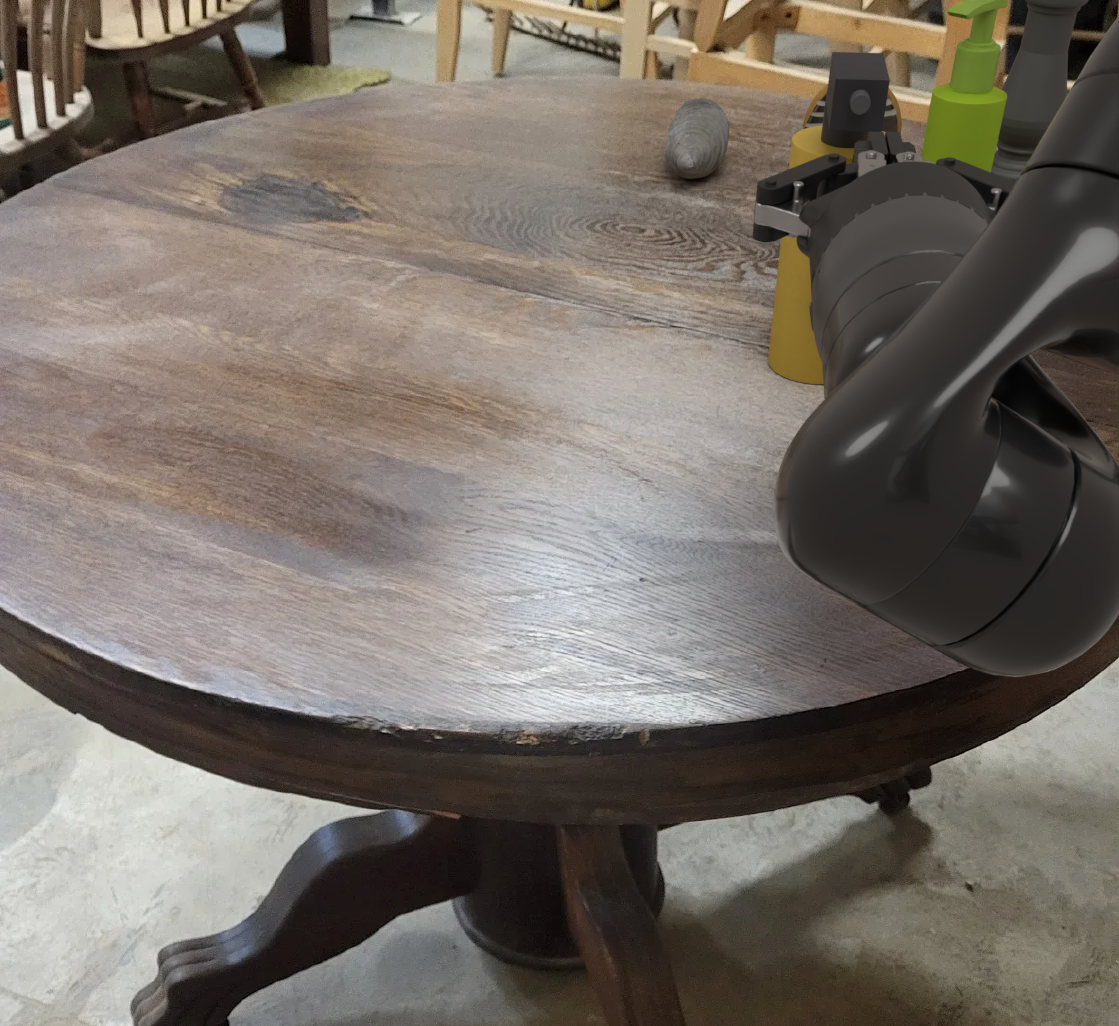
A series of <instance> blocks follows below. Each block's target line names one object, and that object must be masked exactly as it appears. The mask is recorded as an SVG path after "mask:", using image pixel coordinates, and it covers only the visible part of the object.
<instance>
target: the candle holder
mask: <svg viewBox="0 0 1119 1026" xmlns="http://www.w3.org/2000/svg"><path fill="white" fill-rule="evenodd" d="M1024 2H1025V3H1026V8H1027V10H1028V11H1027V14H1026V18H1025V24H1024V28H1023V33H1022V37H1021V40H1020V41H1021V42H1020V46H1019V49H1018V50H1017V53H1016V56H1015V58H1014V60H1013V63H1012V65H1011V67H1010V69H1009V72H1008V74H1007V76H1006V79H1005V81H1004V84H1003V85H1002V88H1001V90H1003V91H1004V92H1006V94H1007V100H1006V104H1005V109H1004V114H1003V118H1002V123H1001V128H1000V132H999V137H998V142H997V146H996V148H997V150H996V151H995V156H994V160H993V165H992V169H991V173H993V174H996V175H998V176H1001V177H1004V178H1006V179H1009V180H1011V181H1014V182H1016V181H1017V180H1018V179H1019V178H1020V175H1021V172H1022V171H1023V169H1024V167H1025V166H1026V164H1027V162H1028V160H1029V159H1030V157H1031V155H1032V154H1033V152H1034V150H1035V149H1036V147H1037V145H1038V144H1039V142H1040V140H1041V138H1042V137H1043V135H1044V133H1045V132H1046V130H1047V128H1048V127H1049V125H1050V123H1051V122H1052V120H1053V118H1054V117H1055V115H1056V113H1057V111H1058V110H1059V108H1060V106H1061V105H1062V103H1063V101H1064V100H1065V98H1066V96H1067V95H1068V69H1069V68H1068V63H1069V61H1068V60H1069V47H1070V44H1071V39H1072V37H1073V36H1072V35H1073V31H1074V26H1075V23H1076V20H1077V15H1078V12H1079V11H1080V10H1081V8H1082V7H1083V6H1085V5H1086V4H1087V3H1088V2H1089V0H1024Z"/></svg>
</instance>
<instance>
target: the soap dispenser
mask: <svg viewBox="0 0 1119 1026" xmlns="http://www.w3.org/2000/svg"><path fill="white" fill-rule="evenodd" d="M1008 2H1009V0H961V1H959V2H957V3H955V4H953V6H951V7H950V8H949V9H948V10H947V14H948V16H951V17H955V18H960V19H964V20H971V19H972V22H971V28H970V33H969V37H967V38H965V39H964V40H962V41H959V42H958V43H957V45H956V49H955V54H954V59H953V65H952V70H951V76H950V82H949V83H944V84H941V85H937V86H935V87H934V88H933V89H932V93H931V98H930V104H929V108H928V109H929V110H928V114H927V120H926V125H925V126H926V127H925V132H924V137H923V143H922V149H921V154H920V155H921V156H922V158H923V160H924V161H932V162H933V164H936V161H937V160H939V159H943V158H947V157H951V158H955V159H957V160H960V161H963V162H965V163H968V164H970V165H973V166H975V167H978V168H981V169H983V170H986V171H988V172H991V169H992V165H993V160H994V156H995V153H996V152H997V142H998V137H999V132H1000V128H1001V123H1002V118H1003V114H1004V109H1005V104H1006V100H1007V94H1006V92H1004V91H1003V90H1002V88H999V87H996V86H994V83H995V79H996V74H997V69H998V64H999V58H1000V55H1001V50H1002V49H1001V48H1002V47H1001V45H1000V44H999V43H997V42H996V40H995V39H993V34H994V29H995V24H996V19H997V15H998V10H999V9H1004V8H1007V7H1008Z"/></svg>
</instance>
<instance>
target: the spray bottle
mask: <svg viewBox="0 0 1119 1026" xmlns="http://www.w3.org/2000/svg"><path fill="white" fill-rule="evenodd" d="M890 79H891V78H890V75H889V71H888V67H887V64H886V59H885V56H884V53H883V52H853V51H851V52H850V51H846V52H845V51H832V52H831V57H830V66H829V74H828V82H827V84H828V89H827V93H826V101H825V109H824V117H823V125H821V126H814V127H810V128H806V129H803V128H802V129H801V130H799V131H797V132H795V133H794V134H793V135H792V137H791V144H790V153H789V163H788V169H791V168H793V167H796V166H798V165H801V164H804V163H806V162H809V161H811V160H814V159H816V158H819V157H821V156H824V155H828V154H832V153H835V154H839V155H841V156H844V157H846V158H847V162H846V164H850V163H852V160H853V153H854V146H855V143H856V142H857V141H867V140H868V135H869V131H871V132H883V131H882V128H883V122H884V115H885V109H886V102H887V96H888V89H890V81H891V80H890ZM884 136H885V132H884ZM817 192H818V191H817ZM796 239H797V237H794V238H791V237H788V236H785V237H783V238H781V239H780V244H779V245H780V246H779V252H778V253H779V255H778V263H777V271H776V273H777V274H776V281H775V282H776V283H775V292H774V300H773V310H772V317H771V318H772V319H771V329H770V335H769V336H770V337H769V347H768V357H767V362H768V365H769V368H770V369H772V370H773V372H774V373H776V374H777V375H779V376H781V377H783V378H785V379H788V380H790V381H794V382H796V383H801V384H808V385H823V369H822V361H821V359H820V356H819V353H818V350H817V346H816V342H815V336H814V331H812V327H811V320H810V311H809V306H810V305H811V302H812V295H811V276H810V259H809V257H808V256H806V255H805V254H803V253H802V252H801V251H800V250H799V248H798V246H797V240H796Z"/></svg>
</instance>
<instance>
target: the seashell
mask: <svg viewBox="0 0 1119 1026" xmlns="http://www.w3.org/2000/svg"><path fill="white" fill-rule="evenodd" d="M667 130H668V131H667V136H666V139H665V141H664V153H663V154H664V159H665V164H666V165H667V167H668V169H670V170H671V172H673V174H674V175H676V176H679V177H680V178H684V179H689V180H691V179H692V180H695V179H701V178H705V177H707V176H709V175H711V174H712V173H713V172H714V171H715V170H716V169H717V168H718V167H719V165H720V164H721V163H722V161H724V158H725V156H726V153H727V150H728V145H729V141H730V140H729V138H730V123H729V119H728V116H727V113H726V112H725V110H724V109H723V108H722V107H721V105H719V104H718V103H717V102H716V101H714V100H712V99H710V98H706V97H699V98H693V99H690V100H689V99H688V100H686V101H685V102H684V103H683V104H681V105H680V106H679V108H677V109H676V112H675V115H674V117H673V118H672V120H671V122H670V123H669V127H668V129H667Z"/></svg>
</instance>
